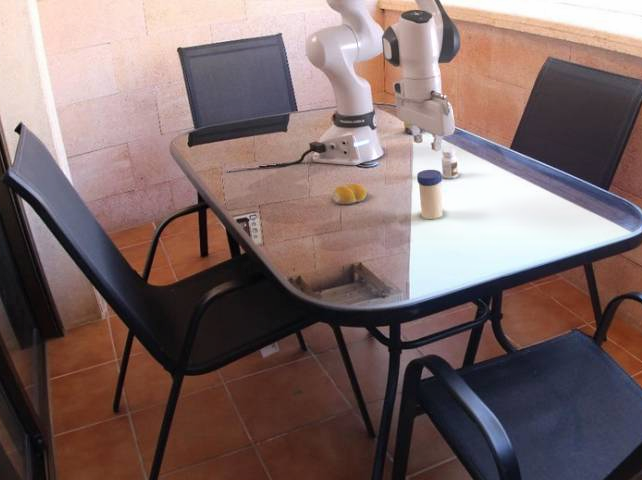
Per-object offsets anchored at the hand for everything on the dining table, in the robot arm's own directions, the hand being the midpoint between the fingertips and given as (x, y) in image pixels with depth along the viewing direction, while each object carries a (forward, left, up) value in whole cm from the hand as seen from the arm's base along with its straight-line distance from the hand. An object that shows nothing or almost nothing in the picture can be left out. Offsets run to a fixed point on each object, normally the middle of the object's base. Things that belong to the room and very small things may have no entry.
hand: (427, 146), depth 161 cm
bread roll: (-25, +9, -18) cm, 32 cm away
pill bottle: (0, +27, -18) cm, 33 cm away
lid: (0, 0, -8) cm, 8 cm away
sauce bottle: (-20, +68, -18) cm, 73 cm away
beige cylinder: (0, 0, -18) cm, 18 cm away
